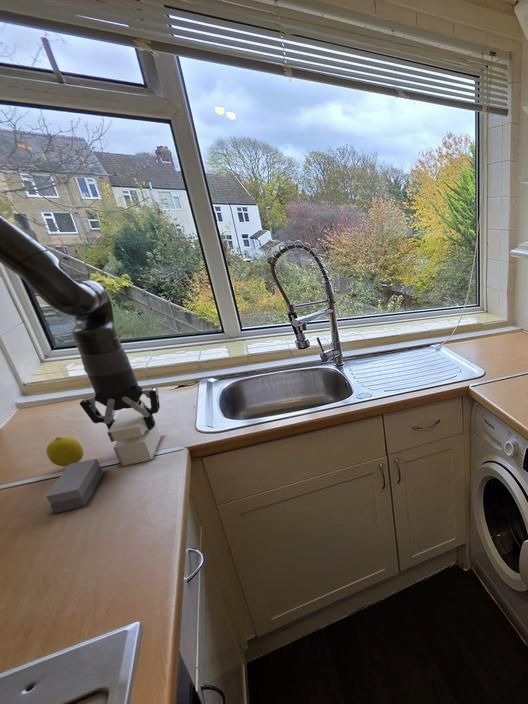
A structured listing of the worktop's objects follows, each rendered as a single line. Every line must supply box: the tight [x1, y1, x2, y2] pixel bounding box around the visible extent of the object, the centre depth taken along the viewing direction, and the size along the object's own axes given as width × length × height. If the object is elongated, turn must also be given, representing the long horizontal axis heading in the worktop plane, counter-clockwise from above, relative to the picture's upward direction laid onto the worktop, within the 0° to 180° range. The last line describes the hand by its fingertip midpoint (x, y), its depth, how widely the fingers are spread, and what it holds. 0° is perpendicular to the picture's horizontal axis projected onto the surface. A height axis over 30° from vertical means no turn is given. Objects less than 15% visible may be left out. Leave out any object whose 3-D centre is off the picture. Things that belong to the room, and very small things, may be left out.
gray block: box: [46, 458, 104, 514], centre depth 87 cm, size 5×13×4 cm, turn 30°
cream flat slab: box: [107, 406, 151, 443], centre depth 99 cm, size 6×12×3 cm, turn 30°
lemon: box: [46, 436, 84, 467], centre depth 94 cm, size 6×6×8 cm
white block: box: [113, 422, 162, 467], centre depth 101 cm, size 6×12×5 cm, turn 30°
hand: (134, 431), depth 100 cm, fingers closed on cream flat slab, 5 cm apart
